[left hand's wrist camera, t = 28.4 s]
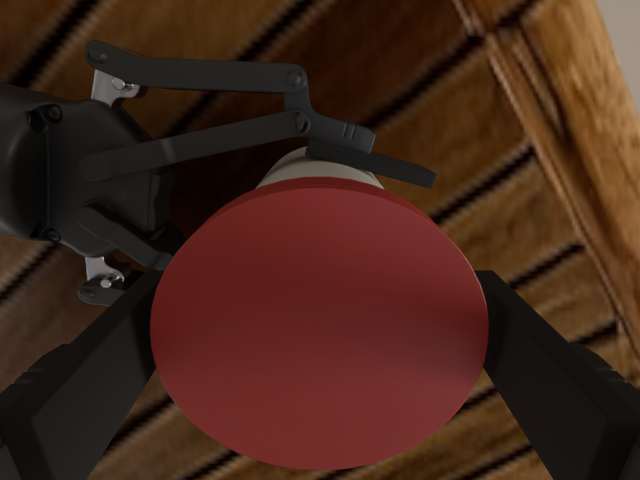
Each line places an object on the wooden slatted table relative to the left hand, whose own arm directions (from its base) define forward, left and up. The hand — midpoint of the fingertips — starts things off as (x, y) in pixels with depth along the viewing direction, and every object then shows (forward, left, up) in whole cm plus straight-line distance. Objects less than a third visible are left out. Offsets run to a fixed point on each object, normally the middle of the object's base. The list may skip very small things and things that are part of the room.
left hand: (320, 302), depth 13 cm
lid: (0, 0, +3) cm, 3 cm away
